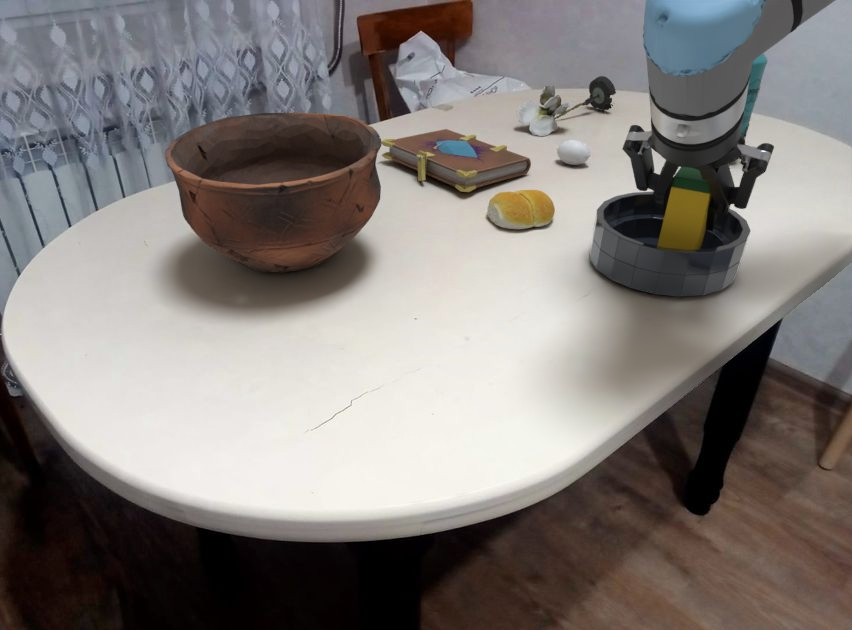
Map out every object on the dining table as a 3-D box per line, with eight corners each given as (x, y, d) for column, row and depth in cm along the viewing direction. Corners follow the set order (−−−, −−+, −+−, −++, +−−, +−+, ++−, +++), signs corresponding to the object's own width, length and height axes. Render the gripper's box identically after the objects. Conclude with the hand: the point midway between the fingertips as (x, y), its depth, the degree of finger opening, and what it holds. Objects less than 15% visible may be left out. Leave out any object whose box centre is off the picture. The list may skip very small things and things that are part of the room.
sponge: (701, 246, 79) (724, 165, 73) (690, 267, 75) (713, 182, 69) (666, 239, 81) (686, 159, 75) (654, 258, 77) (673, 176, 71)
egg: (560, 157, 111) (563, 134, 109) (594, 164, 108) (597, 140, 106) (549, 163, 108) (552, 140, 106) (583, 171, 105) (587, 147, 103)
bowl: (154, 302, 76) (120, 176, 67) (226, 213, 95) (207, 107, 87) (368, 314, 72) (361, 183, 64) (396, 220, 92) (394, 109, 83)
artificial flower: (620, 121, 130) (636, 73, 122) (533, 157, 122) (544, 109, 114) (589, 99, 134) (602, 52, 126) (503, 132, 127) (512, 84, 119)
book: (432, 142, 121) (433, 114, 118) (532, 180, 105) (536, 149, 102) (359, 157, 113) (359, 128, 110) (456, 201, 97) (458, 168, 94)
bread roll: (564, 225, 90) (568, 197, 87) (504, 235, 87) (506, 207, 85) (534, 202, 96) (537, 175, 94) (478, 211, 94) (480, 184, 91)
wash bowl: (745, 253, 82) (760, 207, 78) (719, 315, 70) (735, 266, 67) (612, 225, 89) (620, 182, 86) (569, 277, 78) (577, 231, 74)
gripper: (586, 133, 61) (610, 229, 82) (791, 164, 54) (760, 261, 74) (614, 60, 62) (630, 174, 83) (821, 81, 54) (781, 201, 75)
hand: (691, 215), depth 78 cm, fingers closed on sponge, 4 cm apart
